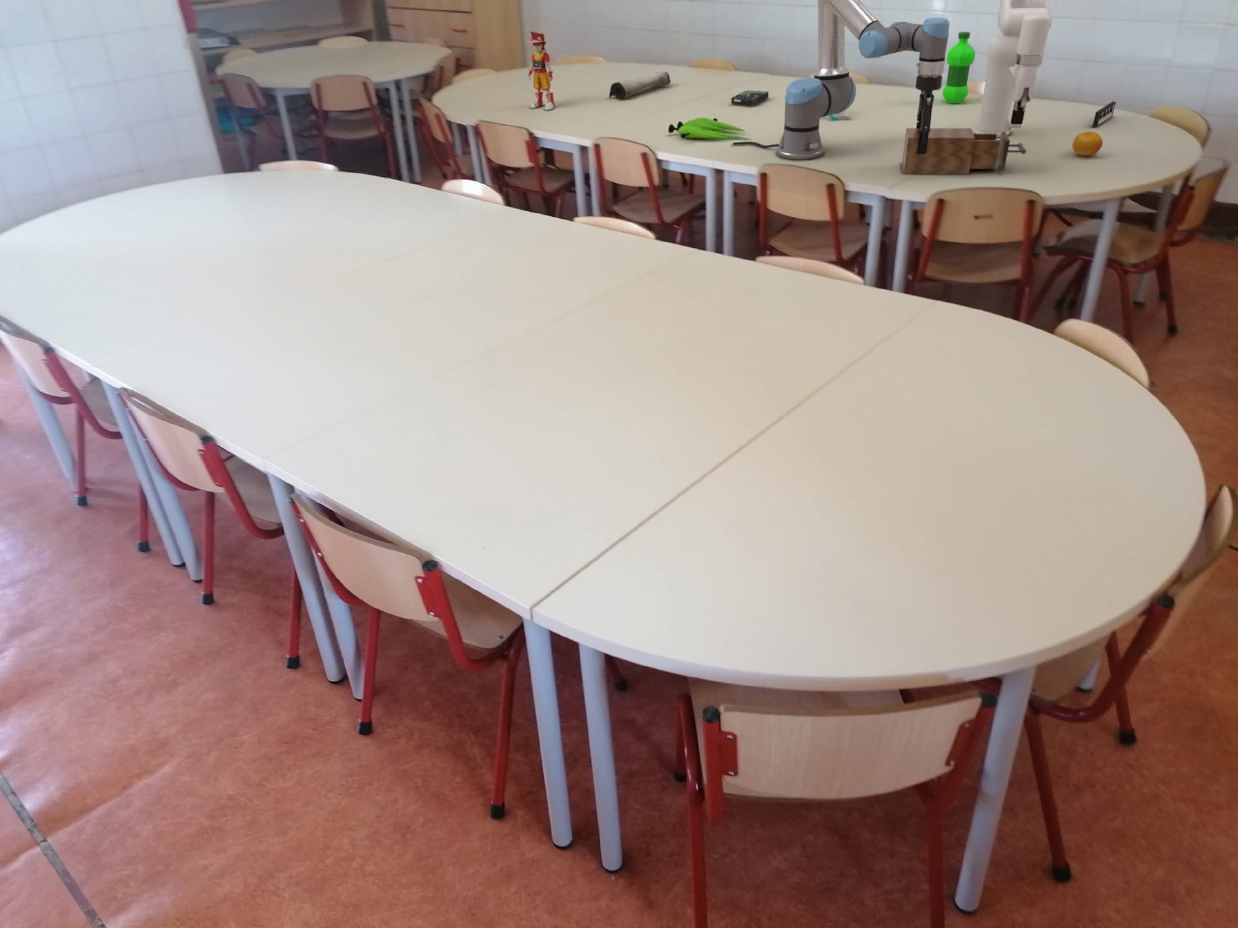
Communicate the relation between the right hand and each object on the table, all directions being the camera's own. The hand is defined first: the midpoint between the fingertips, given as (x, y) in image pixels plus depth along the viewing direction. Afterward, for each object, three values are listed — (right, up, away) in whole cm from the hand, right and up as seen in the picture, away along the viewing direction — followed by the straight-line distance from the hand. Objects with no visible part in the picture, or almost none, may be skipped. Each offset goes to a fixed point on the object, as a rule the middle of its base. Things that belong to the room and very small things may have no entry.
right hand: (1016, 123), depth 276 cm
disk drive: (-68, +46, +97) cm, 127 cm away
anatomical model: (-40, +30, +72) cm, 87 cm away
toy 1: (-155, +48, +107) cm, 194 cm away
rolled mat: (-113, +60, +121) cm, 176 cm away
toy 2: (-88, +17, +58) cm, 107 cm away
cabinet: (-21, -10, +12) cm, 26 cm away
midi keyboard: (+51, +18, +46) cm, 71 cm away
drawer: (-8, -10, +9) cm, 15 cm away
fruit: (+29, -4, +16) cm, 33 cm away
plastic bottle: (+10, +38, +79) cm, 89 cm away
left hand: (-27, -4, +9) cm, 29 cm away
